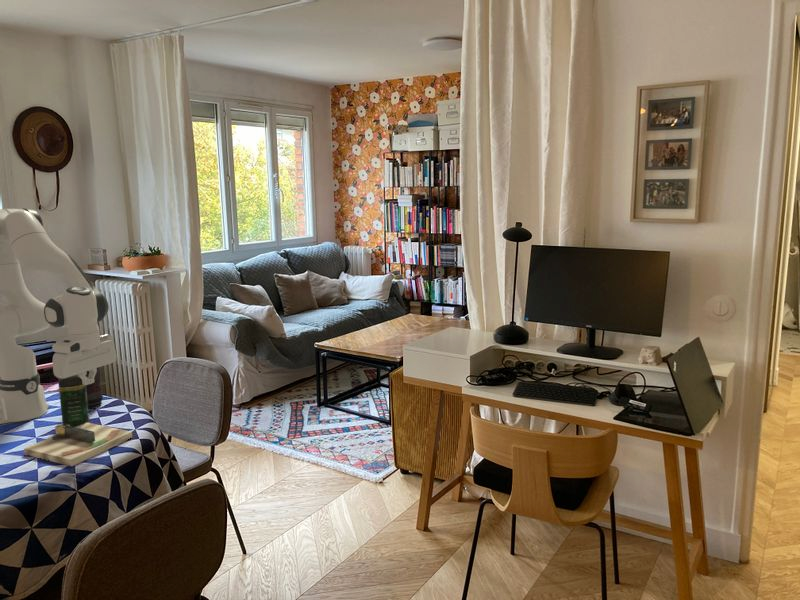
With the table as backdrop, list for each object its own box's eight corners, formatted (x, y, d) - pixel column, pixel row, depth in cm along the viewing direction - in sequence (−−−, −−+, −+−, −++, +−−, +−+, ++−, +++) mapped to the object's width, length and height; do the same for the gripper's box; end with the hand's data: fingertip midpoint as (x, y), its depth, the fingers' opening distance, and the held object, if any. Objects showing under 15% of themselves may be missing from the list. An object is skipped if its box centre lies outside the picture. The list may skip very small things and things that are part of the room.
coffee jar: (89, 429, 206) (83, 375, 202) (62, 433, 203) (56, 378, 199) (90, 419, 215) (84, 367, 211) (64, 423, 211) (58, 370, 208)
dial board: (24, 454, 187) (23, 447, 187) (87, 428, 207) (86, 421, 206) (72, 466, 179) (71, 459, 179) (132, 437, 199) (131, 431, 198)
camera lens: (97, 399, 233) (93, 361, 231) (107, 404, 228) (103, 365, 225) (75, 406, 227) (70, 366, 224) (85, 411, 222) (80, 370, 219)
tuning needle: (53, 436, 194) (52, 427, 194) (64, 431, 198) (63, 422, 197) (87, 444, 188) (86, 435, 187) (98, 439, 192) (97, 430, 191)
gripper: (104, 331, 201) (108, 373, 204) (46, 347, 183) (52, 392, 185) (119, 333, 198) (123, 375, 201) (62, 349, 180) (67, 395, 183)
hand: (88, 383), depth 193 cm, fingers closed
